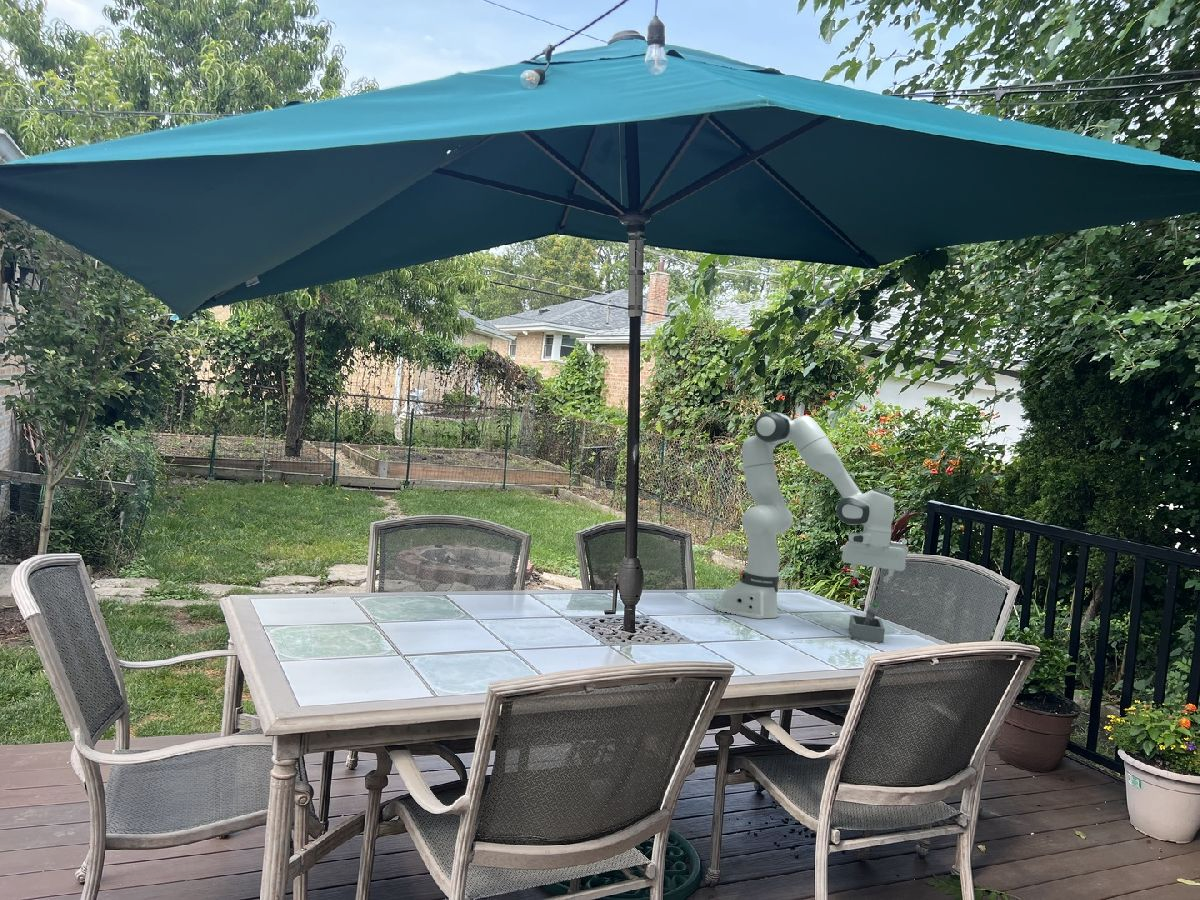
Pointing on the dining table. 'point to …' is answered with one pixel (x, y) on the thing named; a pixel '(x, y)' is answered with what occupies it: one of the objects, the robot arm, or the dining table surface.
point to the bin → (866, 629)
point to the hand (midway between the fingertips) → (870, 580)
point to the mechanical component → (871, 612)
